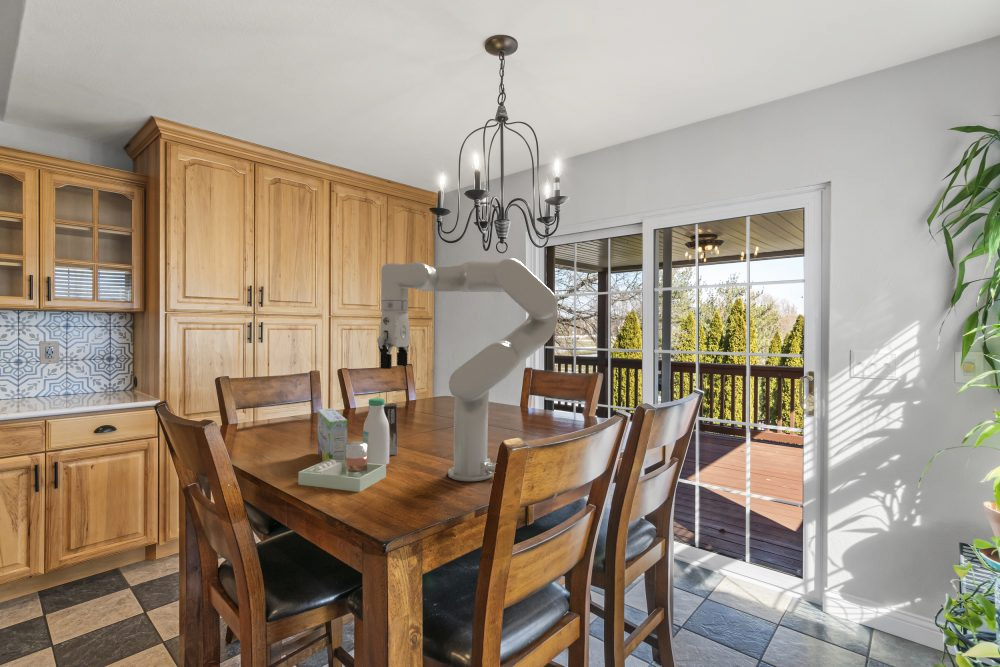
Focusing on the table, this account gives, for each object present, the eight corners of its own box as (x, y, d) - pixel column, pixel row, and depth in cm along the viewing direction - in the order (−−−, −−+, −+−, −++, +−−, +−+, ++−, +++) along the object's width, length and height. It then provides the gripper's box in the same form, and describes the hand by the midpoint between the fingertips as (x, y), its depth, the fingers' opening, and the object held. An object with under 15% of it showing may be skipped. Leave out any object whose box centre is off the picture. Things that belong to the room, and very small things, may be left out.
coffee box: (397, 450, 166) (397, 402, 166) (397, 455, 160) (397, 405, 160) (369, 451, 164) (369, 403, 164) (367, 456, 158) (368, 406, 158)
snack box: (316, 456, 158) (316, 409, 158) (334, 453, 161) (334, 407, 160) (328, 473, 140) (329, 420, 139) (349, 471, 142) (349, 419, 142)
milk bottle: (392, 462, 152) (393, 397, 151) (384, 469, 144) (384, 401, 144) (368, 461, 152) (368, 396, 152) (358, 468, 145) (359, 400, 144)
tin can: (371, 479, 132) (371, 442, 132) (361, 485, 127) (361, 446, 127) (352, 477, 134) (352, 440, 133) (341, 483, 128) (342, 445, 128)
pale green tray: (385, 479, 135) (386, 464, 135) (359, 494, 122) (359, 478, 122) (329, 473, 140) (329, 459, 140) (298, 487, 127) (298, 471, 127)
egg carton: (341, 474, 136) (341, 459, 136) (321, 484, 128) (321, 467, 128) (329, 472, 138) (329, 457, 137) (308, 482, 129) (308, 466, 129)
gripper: (391, 306, 132) (391, 370, 132) (419, 308, 148) (419, 365, 149) (366, 306, 134) (366, 369, 134) (396, 308, 150) (396, 364, 151)
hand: (394, 367), depth 141 cm, fingers open, 9 cm apart
